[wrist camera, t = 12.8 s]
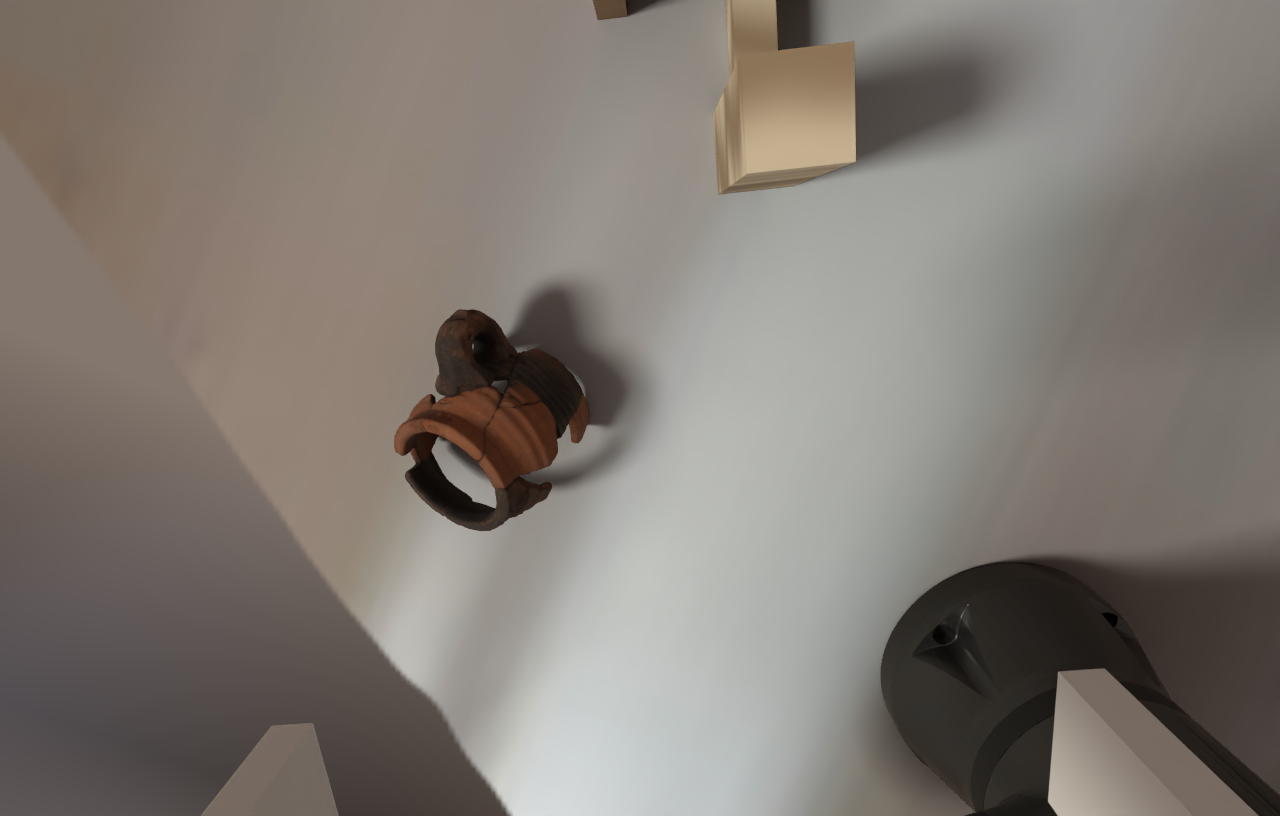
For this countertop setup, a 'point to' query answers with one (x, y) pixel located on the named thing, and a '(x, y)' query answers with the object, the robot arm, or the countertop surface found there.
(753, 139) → the wooden mallet
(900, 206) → the countertop surface
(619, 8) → the walnut bench
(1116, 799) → the robot arm
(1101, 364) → the countertop surface
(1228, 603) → the countertop surface
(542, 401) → the pottery mug
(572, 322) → the countertop surface
